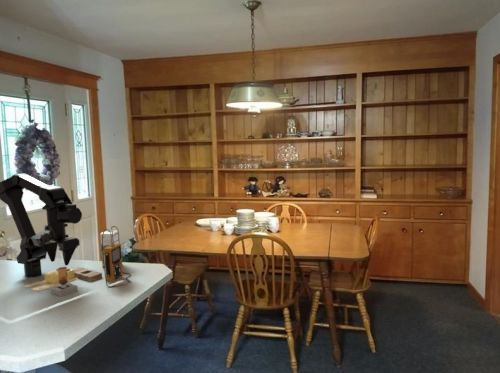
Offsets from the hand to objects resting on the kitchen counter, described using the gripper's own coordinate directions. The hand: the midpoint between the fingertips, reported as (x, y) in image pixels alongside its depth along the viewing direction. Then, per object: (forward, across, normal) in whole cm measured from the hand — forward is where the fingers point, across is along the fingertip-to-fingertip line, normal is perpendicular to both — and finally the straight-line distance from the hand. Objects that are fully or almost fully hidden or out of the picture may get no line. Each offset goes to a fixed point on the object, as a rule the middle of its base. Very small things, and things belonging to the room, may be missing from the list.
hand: (59, 263), depth 144 cm
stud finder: (+6, 0, 0) cm, 6 cm away
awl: (+7, +13, -6) cm, 16 cm away
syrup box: (+7, +1, +22) cm, 23 cm away
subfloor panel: (+7, 0, -3) cm, 8 cm away
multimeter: (+7, +20, +13) cm, 25 cm away
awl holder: (+7, +13, -6) cm, 16 cm away
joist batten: (+7, +4, +7) cm, 11 cm away
